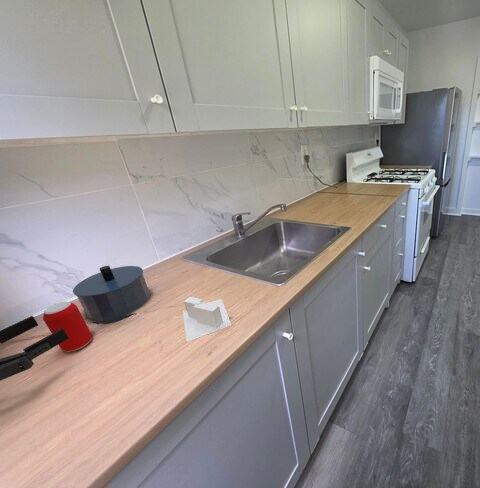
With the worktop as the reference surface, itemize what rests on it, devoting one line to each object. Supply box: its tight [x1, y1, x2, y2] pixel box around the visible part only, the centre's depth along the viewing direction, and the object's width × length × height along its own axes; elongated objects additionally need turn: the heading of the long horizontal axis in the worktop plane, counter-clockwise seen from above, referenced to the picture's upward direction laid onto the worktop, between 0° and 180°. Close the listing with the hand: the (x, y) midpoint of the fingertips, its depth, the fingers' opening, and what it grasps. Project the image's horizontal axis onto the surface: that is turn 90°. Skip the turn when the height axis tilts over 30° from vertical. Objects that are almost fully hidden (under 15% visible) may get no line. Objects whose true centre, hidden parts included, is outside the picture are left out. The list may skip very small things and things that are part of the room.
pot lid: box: [72, 265, 144, 298], centre depth 78 cm, size 17×17×5 cm
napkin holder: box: [182, 296, 232, 343], centre depth 74 cm, size 15×11×6 cm
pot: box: [76, 273, 151, 325], centre depth 81 cm, size 16×16×10 cm
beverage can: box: [42, 301, 93, 353], centre depth 65 cm, size 6×6×12 cm
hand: (49, 326), depth 62 cm, fingers open, 13 cm apart
